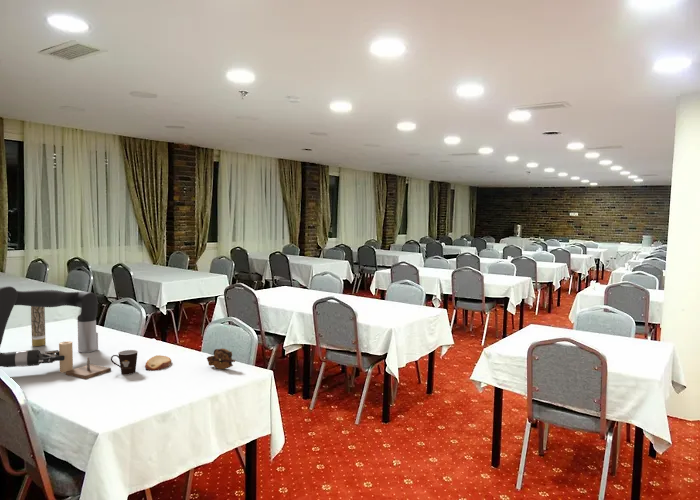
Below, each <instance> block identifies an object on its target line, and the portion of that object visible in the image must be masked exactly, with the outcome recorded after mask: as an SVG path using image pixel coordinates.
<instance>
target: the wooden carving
mask: <svg viewBox="0 0 700 500" xmlns="http://www.w3.org/2000/svg"><path fill="white" fill-rule="evenodd" d="M232 352H233V351H230V350H228V349H226V348H215V349H214V350H213V355H210V356H207V357H206V360H207V362H208V366H211V367H212V366H213V367H215V368H216V369H219V370H224V369H229V368H232V367H233V366H234V365H233V363H235V362H236V359H233V358H232V356H233V353H232Z"/></svg>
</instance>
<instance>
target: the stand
mask: <svg viewBox="0 0 700 500" xmlns="http://www.w3.org/2000/svg"><path fill="white" fill-rule="evenodd" d="M111 371H112V367H108V366H104V365H98V364H93V363H91V361H90V357H87V360H86V365H84V366H80V367H76V368H73V370H69V371H66V373H65V375H66V376H70V377H74V378H75V377H76V378H79V379H84V380H86V379H89V378H93V377H96V376H99V374H100V375H102V374H105V373H108V372H109V373H110V372H111Z"/></svg>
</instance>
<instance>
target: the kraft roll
mask: <svg viewBox="0 0 700 500" xmlns="http://www.w3.org/2000/svg"><path fill="white" fill-rule="evenodd" d="M58 350H59V356H64V357H65V359H64V360H61V361H59V373H61V374H62V373H63V374H66V371H69V370H73V369H74V363H73V362H74V356H73V341H62V342H58Z"/></svg>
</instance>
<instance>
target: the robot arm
mask: <svg viewBox="0 0 700 500" xmlns="http://www.w3.org/2000/svg"><path fill="white" fill-rule="evenodd" d="M98 301H99V300H98V297H97V295H96V294H95V293H94V292H89V291H73V292H72V291H71V292H70V291H61V290H56V289H29V290H17V289H16V288H15V287H14V286H10V285H7V286H3V287H0V347H1V346H2V342H3V338H4V334H5V330H6V327H7V324H8V321H9V319H10V317H11V313H12V311H13V308H14V307H15V306H24V307H25V306H26V307H27V306H28V307H31V306H34V307H45V308H57V307H64V306H65V307H66V306H69V307H75V308H76V307H77V308H81V309H80V310H81V311H80V312H81V313H80V314H79V315H77V319H76V320H77V349H78V350H77V351H78V352H79V353H91V352H95V351H97V350H98V349H99V332H98V331H97V316H98V310H99V309H98V308H99V306H98V305H99V304H98V303H99V302H98ZM64 359H65V357H64V356H59V349H56V350H54V349H53V350H45V351H44V352H42V353H41V350H40V349H30V350H29V349H28V350H19V351H8V352H0V367H1V368H2V367H3V368H18V367H19V368H20V367H34V366H39V365H42V364H53V363H55V362H58V361H61V360H64Z"/></svg>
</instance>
